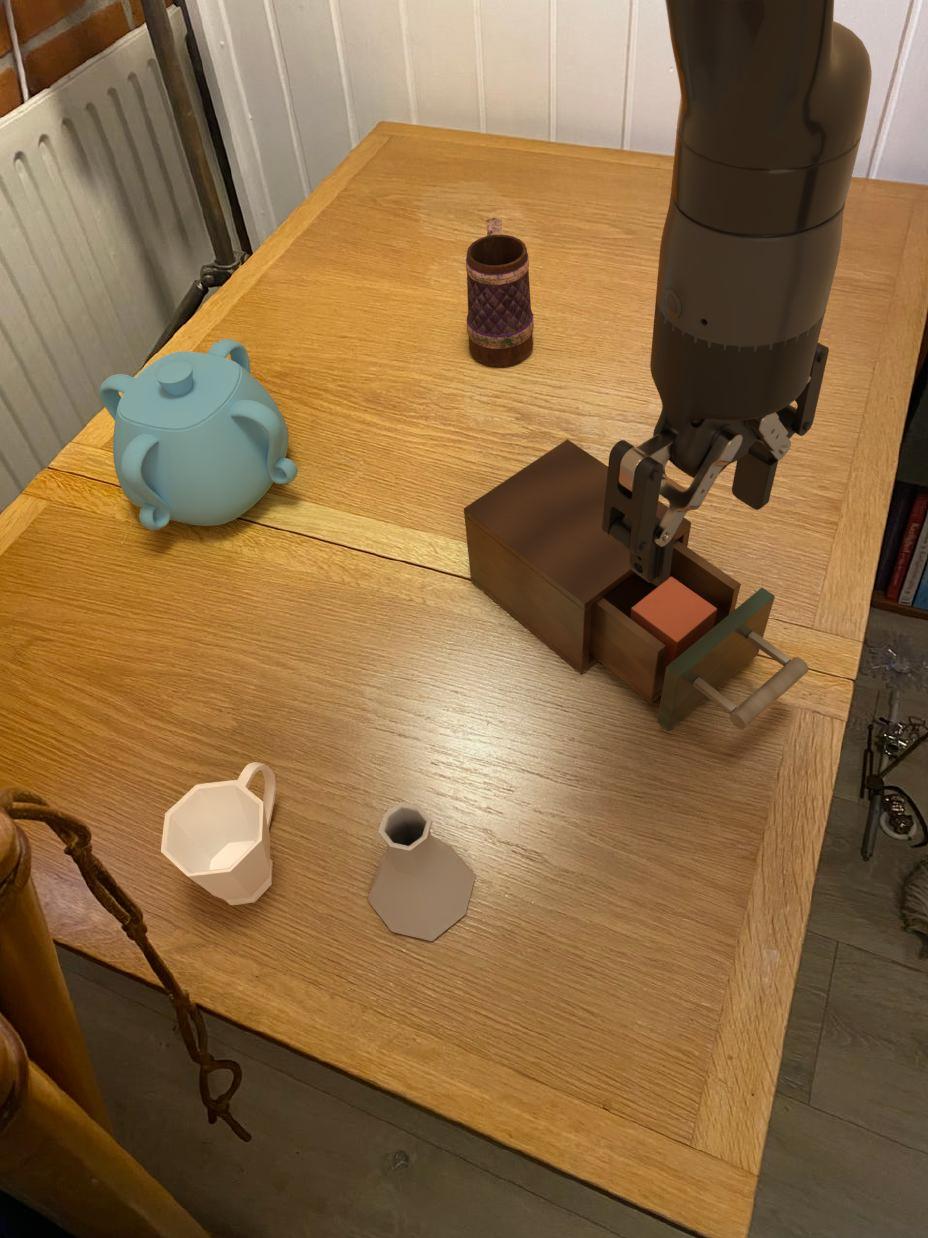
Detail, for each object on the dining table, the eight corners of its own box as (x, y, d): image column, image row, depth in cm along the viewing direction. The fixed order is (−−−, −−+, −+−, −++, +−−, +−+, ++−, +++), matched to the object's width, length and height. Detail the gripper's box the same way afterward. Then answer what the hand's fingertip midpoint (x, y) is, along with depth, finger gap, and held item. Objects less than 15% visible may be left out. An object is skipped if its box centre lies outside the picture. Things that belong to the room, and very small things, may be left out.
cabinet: (679, 597, 81) (691, 522, 74) (581, 675, 76) (584, 603, 69) (566, 514, 88) (567, 438, 80) (470, 581, 83) (463, 508, 76)
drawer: (809, 692, 73) (832, 634, 67) (720, 774, 69) (735, 721, 63) (640, 568, 82) (647, 508, 76) (552, 635, 78) (553, 578, 72)
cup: (177, 909, 67) (138, 861, 60) (239, 786, 72) (209, 730, 66) (268, 937, 65) (237, 890, 59) (323, 808, 71) (301, 753, 64)
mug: (535, 367, 101) (533, 264, 92) (468, 370, 101) (459, 268, 92) (532, 310, 107) (530, 208, 98) (469, 313, 108) (461, 212, 98)
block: (665, 615, 77) (671, 575, 73) (709, 648, 75) (717, 608, 71) (626, 647, 75) (630, 607, 71) (670, 681, 73) (677, 642, 69)
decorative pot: (127, 450, 98) (74, 338, 87) (281, 411, 100) (247, 296, 89) (141, 563, 88) (82, 452, 77) (311, 517, 90) (277, 402, 79)
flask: (436, 961, 63) (419, 904, 55) (349, 906, 66) (322, 843, 58) (493, 872, 67) (486, 807, 59) (409, 823, 70) (391, 754, 62)
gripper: (698, 400, 39) (664, 641, 51) (909, 255, 44) (831, 508, 56) (568, 324, 42) (567, 566, 55) (776, 199, 47) (731, 447, 60)
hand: (701, 536), depth 56 cm, fingers open, 8 cm apart
